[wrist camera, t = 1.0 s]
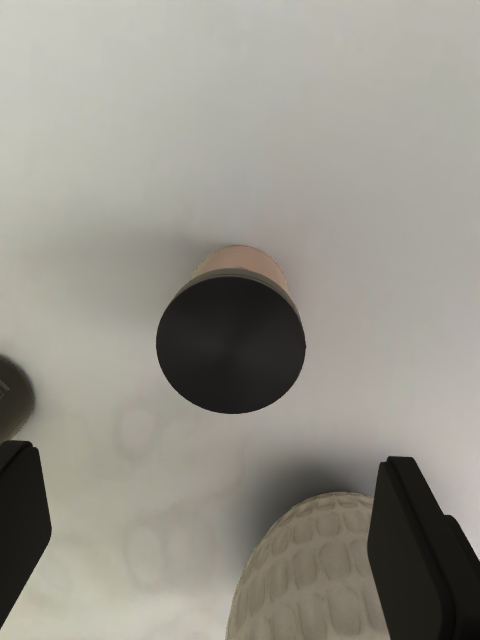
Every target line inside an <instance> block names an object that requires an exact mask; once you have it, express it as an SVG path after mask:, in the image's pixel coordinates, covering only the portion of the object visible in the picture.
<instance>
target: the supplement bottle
mask: <svg viewBox="0 0 480 640" xmlns="http://www.w3.org/2000/svg"><path fill="white" fill-rule="evenodd" d="M32 409H33V394H32V390H31V388H30V385H29V383H28V381H27V380H26V378H25V377H24V375H23V374H22V373H21V372H20V371H19V370H18V369H17V368H16V367H15V366H14V365H12V364H11V363H10V362H8V361H6V360H4V359H2V358H0V445H1V444H2V443H3V442H4V441H7V440H12V439H13V438H14V437H15V435H16V434H17V433H18V432H19V431H20V429H21V428H22V427H23V426H24V425H25V423H26V422H27V421H28V419H29V417H30V415H31V413H32Z"/></svg>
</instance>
